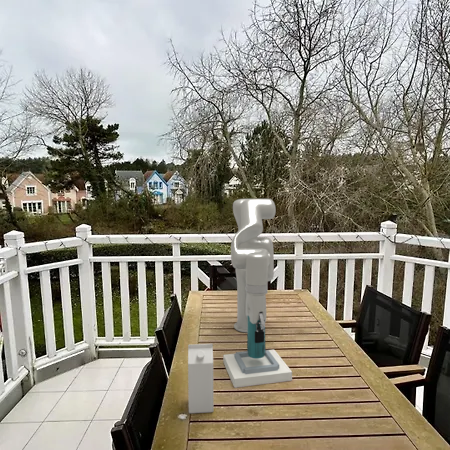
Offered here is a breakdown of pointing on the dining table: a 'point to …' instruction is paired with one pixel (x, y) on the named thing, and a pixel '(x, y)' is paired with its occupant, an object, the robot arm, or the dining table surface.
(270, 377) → the display stand
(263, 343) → the beverage bottle
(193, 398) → the milk carton
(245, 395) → the dining table surface
